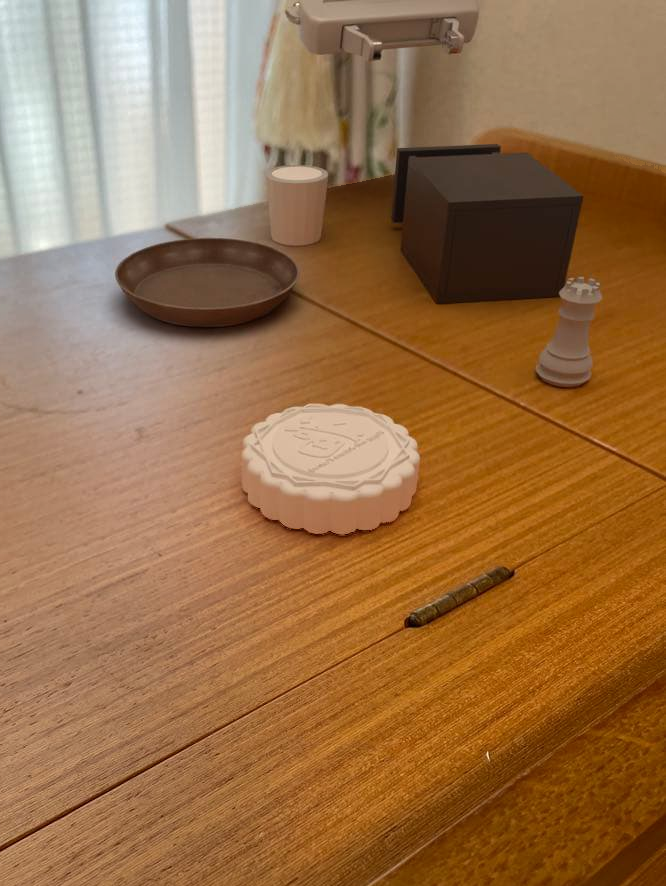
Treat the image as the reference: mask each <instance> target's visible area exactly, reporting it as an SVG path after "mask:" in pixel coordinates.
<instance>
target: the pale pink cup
mask: <svg viewBox="0 0 666 886" xmlns="http://www.w3.org/2000/svg"><path fill="white" fill-rule="evenodd" d="M328 180H329V173H328V170H326V169H323V168H321V167H318V166H314V165H307V164H306V165H305V164H287V165H280V166H276V167H273V168H270V169H268V170H267V171H266V172H265V184H266V194H267V205H268V214H269V215H268V216H269V225H270V237H271V240H272V241H274V242H275V243H277V244H280V245H284V246H291V247H292V246H293V247H296V246H297V247H301V246H308V245H313V244H315V243H317V242H319V241H320V239H321V237H322V230H323V224H324V223H323V222H324V216H325V215H324V214H325V206H326V199H327V190H328V183H329V181H328Z"/></svg>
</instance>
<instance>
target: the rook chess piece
mask: <svg viewBox="0 0 666 886" xmlns="http://www.w3.org/2000/svg"><path fill="white" fill-rule="evenodd" d="M584 280H585V277H584V276H577V278H576V282H575V278H574V277H570V278H568V279H567V281H566V280H565V285H564V288H563V289H561V291H560V292H559V295H560V297H559V298H560V299H561V301H562V305H561V307H560V308H559V309H558V310H557V313H558V316H559V317H558V321H557V325H556V328H555V331H554V333H553V336H552V339H551V340H550V342H548V343H547V344H546V347H545V348H543V350H542V351H541V352H540V354H539V356H538V361H539V362H538V363H537V364H536V366H535V371H536V373H537V375H538V377H539V378H540V379H541V381H543V382H545V383H547V384H548V385H551V386H555V387H560V388H573V387H574V388H575V387H580V386H581V385H584V384H585V383H586V382H588V381H589V380H590V379H591V377H592V372H591V369H592V368H593V366H594V360H593V357H592V355H591V349H590V347H589V337H590V327H591V323H592V321H593V319H594V318H595V317H596V314H595V312H594V308H595V306H596V305H598V304H599V303H600V302H601V301H602V300H603V297H604V296H603V295H602V293H601V291H600V288H601V283H600V282H597V280H596V279H593V278H589V279H588V282H587V283H585V282H584Z"/></svg>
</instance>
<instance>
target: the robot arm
mask: <svg viewBox="0 0 666 886" xmlns="http://www.w3.org/2000/svg"><path fill="white" fill-rule="evenodd" d="M284 14H285V17H286V19H287V20H288V21H289V22H290V23H292V24H294V25H296V33H297V36H298V39H299V41H300V42H301V44H302V46H303V47H304V49H305V50H306V52H308V53H311V54H314V55H317V56H322V55H323V56H324V55H335V54H345V53H346V54H347V53H348V54H352V55H356V56H359V57H362V58H363V59H364V60H365V61H366V62H372V61H373V62H374V61H380V60H381V59H382V51H383V50H393V49H394V50H397V49H408V48H418V47H419V48H420V47H430V46H441V50H442V51H443V52H445V53H446V54H447V55H456V54H461V53H462V51H463V46H464V44H468V43H470V42H472V40H473V39H474V36H475V34H476V31H477V28H478V22H479V17H480V6H479V4H478V3H477V1H476V0H299V1H297V2H294V3H293V4H292V6H286V8H285V10H284Z"/></svg>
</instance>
